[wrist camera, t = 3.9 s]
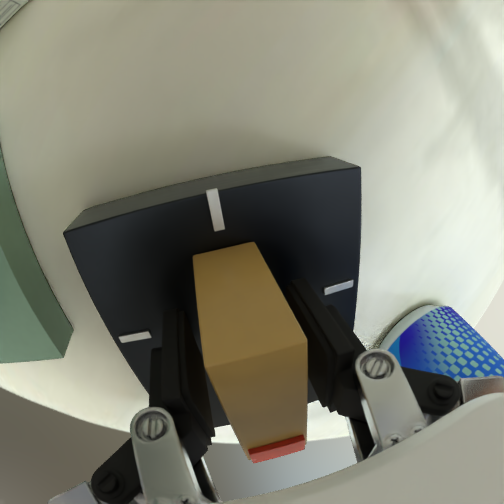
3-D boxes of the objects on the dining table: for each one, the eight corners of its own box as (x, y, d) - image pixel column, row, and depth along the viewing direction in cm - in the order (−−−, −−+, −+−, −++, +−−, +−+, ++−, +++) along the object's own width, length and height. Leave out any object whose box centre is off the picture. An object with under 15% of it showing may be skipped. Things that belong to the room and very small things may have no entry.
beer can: (361, 387, 21) (444, 530, 7) (373, 320, 17) (508, 508, 3) (432, 351, 22) (519, 463, 8) (454, 282, 18) (580, 410, 4)
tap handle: (192, 254, 10) (204, 375, 5) (254, 240, 10) (312, 347, 5) (226, 366, 13) (250, 466, 8) (271, 354, 13) (308, 449, 8)
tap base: (82, 207, 10) (59, 231, 8) (330, 153, 12) (363, 164, 9) (176, 403, 17) (179, 435, 15) (329, 364, 18) (345, 392, 16)
